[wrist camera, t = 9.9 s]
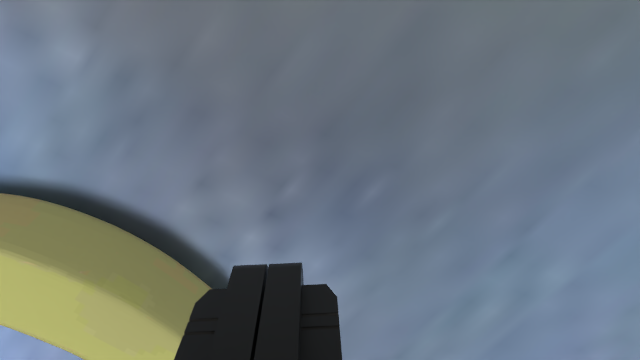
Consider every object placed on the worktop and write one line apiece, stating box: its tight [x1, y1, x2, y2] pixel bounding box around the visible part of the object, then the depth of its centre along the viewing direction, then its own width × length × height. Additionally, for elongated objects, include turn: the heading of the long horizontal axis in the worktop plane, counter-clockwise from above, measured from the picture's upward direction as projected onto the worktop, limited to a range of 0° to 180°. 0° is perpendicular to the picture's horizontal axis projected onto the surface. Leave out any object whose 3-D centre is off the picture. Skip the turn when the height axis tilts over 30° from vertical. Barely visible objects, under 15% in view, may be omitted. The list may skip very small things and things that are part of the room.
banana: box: [0, 193, 212, 360], centre depth 24 cm, size 14×6×20 cm
